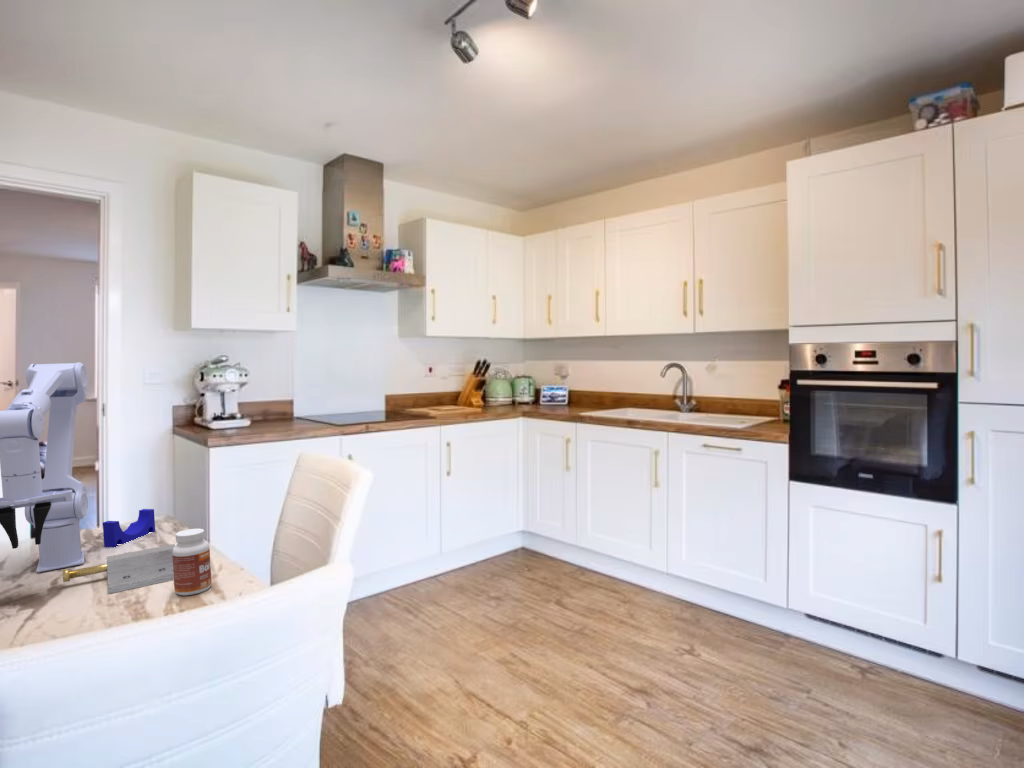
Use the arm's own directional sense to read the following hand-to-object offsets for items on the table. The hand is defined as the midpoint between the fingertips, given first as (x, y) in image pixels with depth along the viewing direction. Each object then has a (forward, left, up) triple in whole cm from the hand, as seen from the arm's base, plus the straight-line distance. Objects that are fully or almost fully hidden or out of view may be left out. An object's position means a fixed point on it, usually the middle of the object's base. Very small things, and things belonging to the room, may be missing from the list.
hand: (26, 545), depth 110 cm
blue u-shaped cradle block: (-28, +17, -10) cm, 34 cm away
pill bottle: (+18, +25, -10) cm, 32 cm away
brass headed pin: (0, +12, -8) cm, 14 cm away
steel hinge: (0, +18, -9) cm, 20 cm away
